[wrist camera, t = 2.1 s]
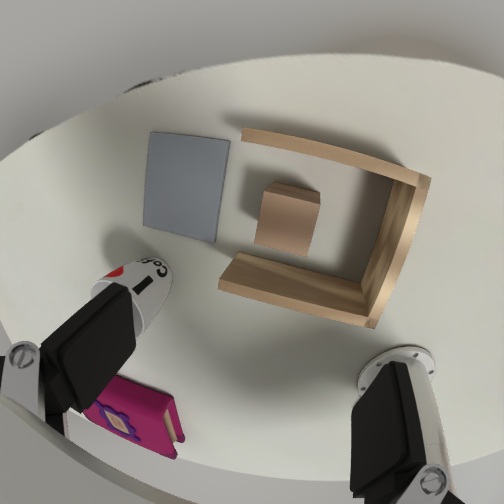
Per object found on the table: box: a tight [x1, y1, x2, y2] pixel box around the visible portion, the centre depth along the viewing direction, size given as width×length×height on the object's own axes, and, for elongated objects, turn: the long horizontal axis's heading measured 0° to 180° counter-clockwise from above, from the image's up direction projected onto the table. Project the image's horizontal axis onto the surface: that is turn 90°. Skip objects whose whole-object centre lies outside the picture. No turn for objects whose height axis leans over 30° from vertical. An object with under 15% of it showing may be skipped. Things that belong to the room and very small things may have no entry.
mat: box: [143, 132, 231, 244], centre depth 31 cm, size 12×10×1 cm
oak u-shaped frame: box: [218, 127, 431, 329], centre depth 26 cm, size 15×16×7 cm
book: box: [83, 375, 185, 459], centre depth 52 cm, size 21×28×8 cm
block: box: [254, 182, 320, 257], centre depth 27 cm, size 5×5×6 cm
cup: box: [90, 257, 172, 339], centre depth 33 cm, size 8×8×10 cm
